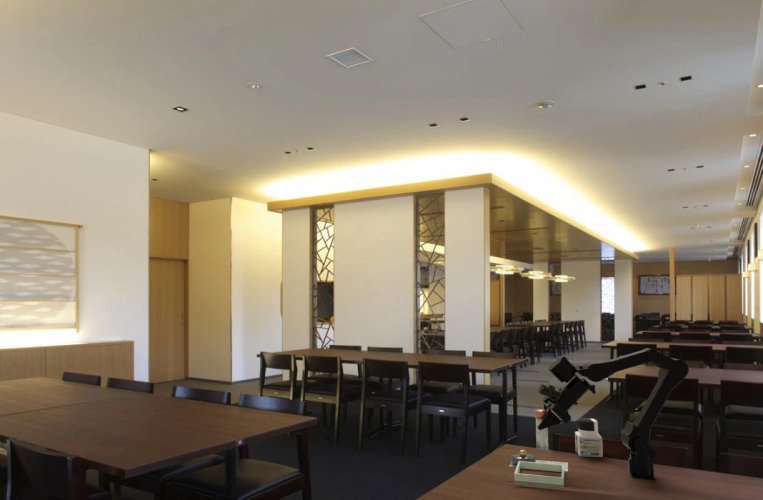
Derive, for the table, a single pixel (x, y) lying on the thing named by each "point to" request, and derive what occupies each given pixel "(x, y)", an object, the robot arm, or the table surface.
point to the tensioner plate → (531, 460)
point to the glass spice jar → (541, 434)
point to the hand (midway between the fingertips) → (537, 427)
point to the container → (588, 438)
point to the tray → (539, 478)
